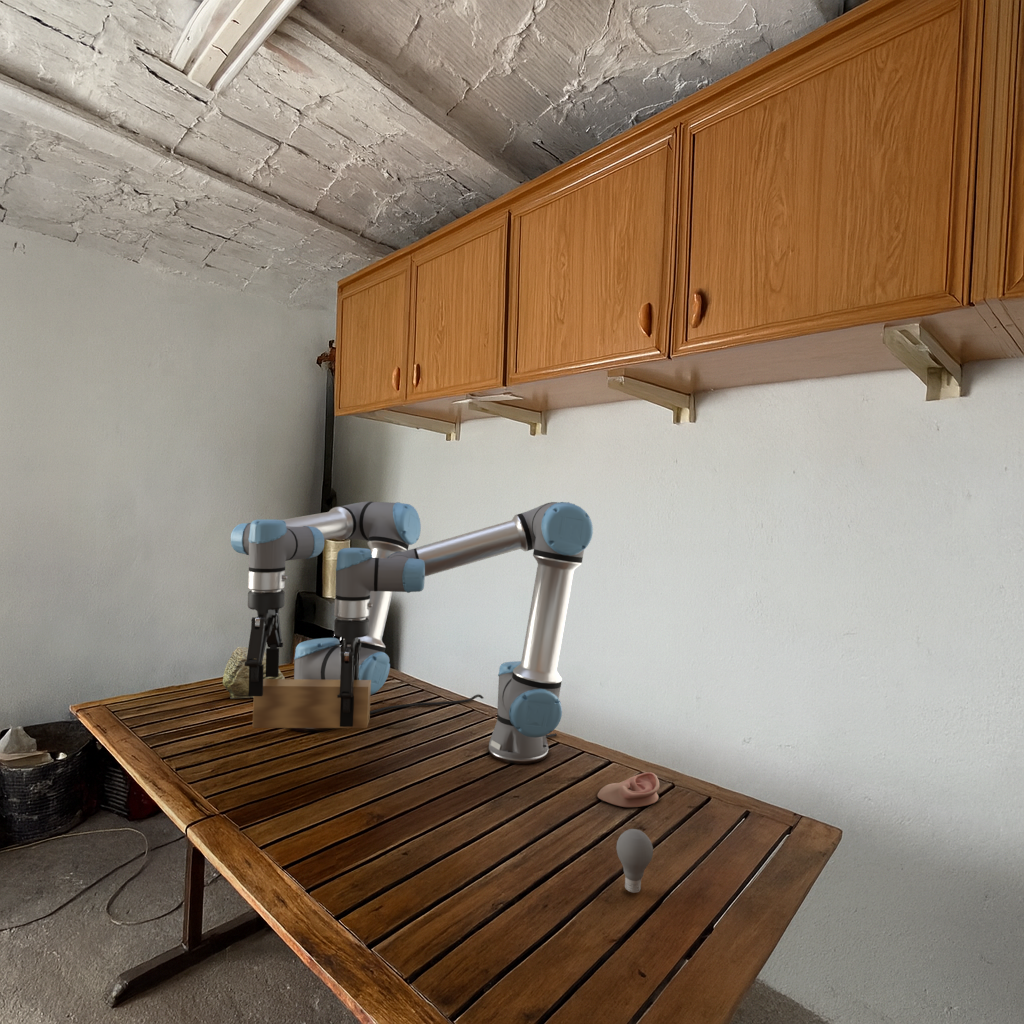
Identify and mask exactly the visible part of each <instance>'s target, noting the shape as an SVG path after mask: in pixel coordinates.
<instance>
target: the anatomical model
mask: <svg viewBox="0 0 1024 1024" xmlns="http://www.w3.org/2000/svg"><path fill="white" fill-rule="evenodd" d="M659 789H660V781H659V777H658V776H657V774H655V773H654V772H651V771H647V772H642V773H639V774H636V775H633V776H631V777H629V778H627V779H625V780H622V781H621V782H612V783H609V784H606V785H604V786H602V788H600V790H599V791H598V793H597V794H596V795H597V798H598V799H599V800H601V801H603V802H606V803H608V804H611V805H614V806H618V807H621V808H622V807H623V808H638V807H646V806H649V805H653V804H655V803H656V802H658V800H659V795H658V791H659Z"/></svg>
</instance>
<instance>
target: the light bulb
mask: <svg viewBox="0 0 1024 1024" xmlns="http://www.w3.org/2000/svg"><path fill="white" fill-rule="evenodd" d="M615 849H616V854H617V857H618V859H619V861H620V863H621V865H622V867H623V873H624V874H623V875H624V876H625V878H624V888H625V890H627V891H628V892H630V893H634V894H635V893H639V892H640V891H641V889H642V887H641V886H642V879H643V877H644V875H645V871H646V868H647V867H648V866H649V864H650V863H651V861H652V859H653V855H654V847H653V843H652V841H651V838H649V836H648V835H647V834H646V833H645V832H643V831H642V830H641V829H636V828H629V829H627V830H625V831H623V832H622V833H621V834H620V835H619V837H618V839H617V841H616V847H615Z"/></svg>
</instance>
